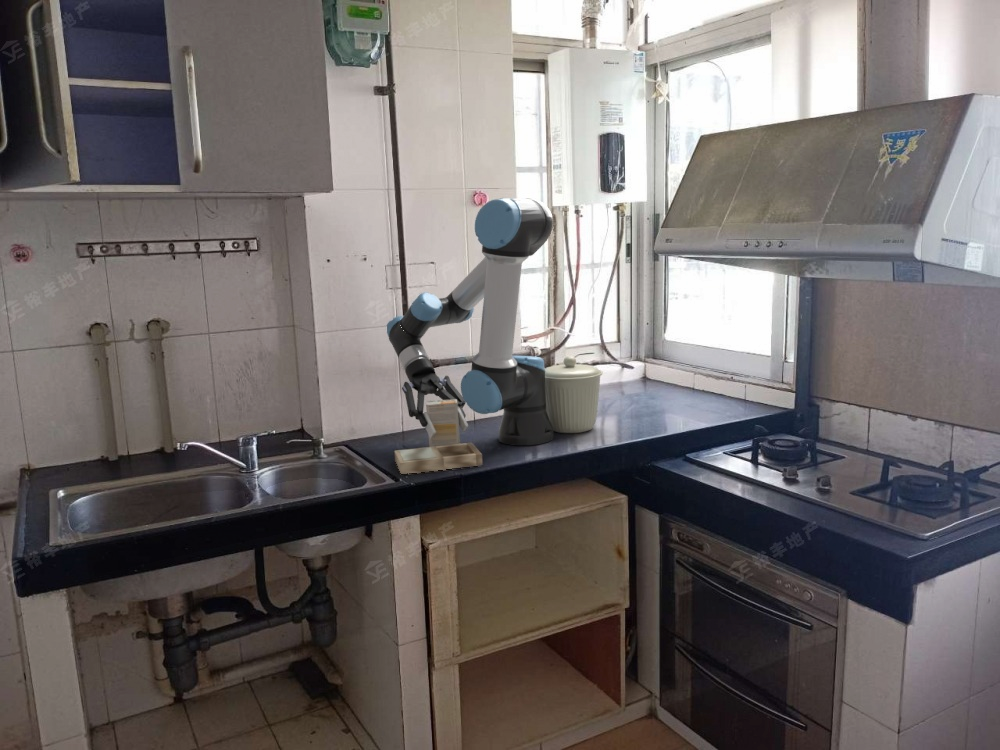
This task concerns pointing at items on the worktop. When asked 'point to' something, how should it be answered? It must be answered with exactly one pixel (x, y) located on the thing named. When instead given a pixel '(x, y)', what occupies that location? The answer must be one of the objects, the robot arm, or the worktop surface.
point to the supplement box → (444, 422)
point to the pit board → (437, 458)
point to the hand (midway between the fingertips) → (449, 432)
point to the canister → (572, 396)
